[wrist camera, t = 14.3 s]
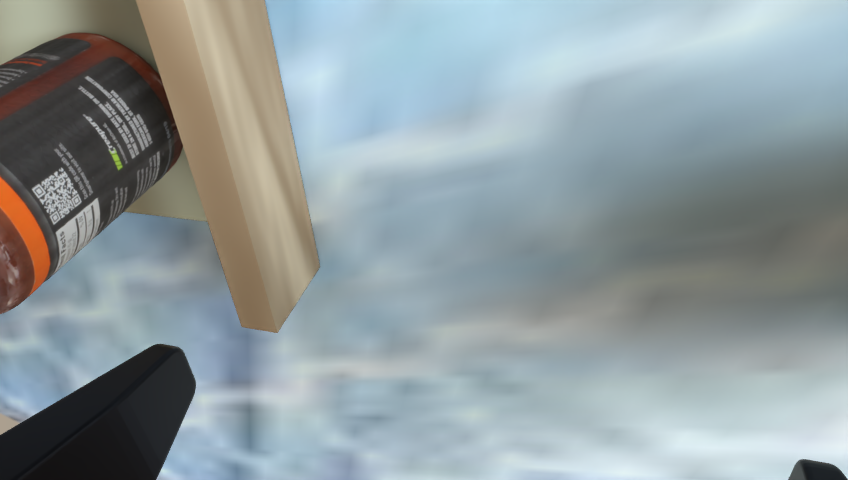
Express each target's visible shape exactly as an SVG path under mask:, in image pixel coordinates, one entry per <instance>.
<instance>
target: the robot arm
mask: <svg viewBox="0 0 848 480" xmlns="http://www.w3.org/2000/svg"><path fill="white" fill-rule="evenodd" d="M195 389H196V381H195V378H194V375H193V373H192V371H191V368H190V366H189V363H188V361H187V358H186V356H185V353H184V352H183V350H182V349H181V348H179V347H176V346H170V345H165V344H156V345H153V346H151V347H149V348H148V349H146V350H144V351H142V352H141V353H139V354H137V355H136V356H134V357H132V358H131V359H129V360H127V361H125V362H124V363H122V364H120V365H119V366H117V367H115V368H114V369H112V370H110V371H108V372H107V373H105V374H103V375H102V376H100V377H98V378H97V379H95V380H93V381H91V382H90V383H88V384H86V385H85V386H83V387H81V388H80V389H78V390H76V391H74V392H73V393H71V394H69V395H68V396H66V397H64V398H63V399H61V400H59V401H57V402H56V403H54V404H52V405H51V406H49V407H47V408H46V409H44V410H42V411H40V412H39V413H37V414H35V415H34V416H32V417H30V418H29V419H27V420H25V421H23V422H22V423H20V424H18V425H17V426H15V427H13V428H12V429H10V430H8V431H7V432H5V433H3V434H1V435H0V480H156V479H157V477H158V475H159V473H160V471H161V469H162V466H163V464H164V462H165V460H166V457H167V455H168V453H169V451H170V448H171V446H172V444H173V442H174V439H175V437H176V435H177V433H178V430H179V428H180V426H181V424H182V421H183V419H184V417H185V415H186V412H187V410H188V408H189V405H190V403H191V401H192V399H193V396H194V393H195ZM788 480H848V479H847V478H846V477H845V475H844V474H843V473H842V471H841V470H840V469H839V468H837V467H836V466H834V465H832V464H829V463H824V462H818V461H812V460H807V459H801V460H799V461H798V462H797V463H796V464H795V466H794V468H793V471H792V473H791V475H790V477H789V479H788Z"/></svg>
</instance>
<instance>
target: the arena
mask: <svg viewBox="0 0 848 480" xmlns="http://www.w3.org/2000/svg"><path fill="white" fill-rule="evenodd" d="M70 33H92V34H99V35H102V36H105V37H108V38H110V39H112V40H115V41H117V42H119V43H121V44H122V45H124V46H126V47H127V48H129V49H131V50H132V51H134V52H135V53H136V54H138V55H139V56H140V57H142V58H143V59H144V60H145V61H146V62H147V63H148V64H150V65H151V66H152V68H153V69H154V70H155V71H156V72H157V73H158V74H159V75H160V76H161V79H162V83H163V86H164V89H165V92H166V95H167V98H168V101H169V104H170V107H171V110H172V113H173V116H174V120H175V123H176V126H177V129H178V132H179V135H180V138H181V141H182V144H183V148H182V151H181V154H180V157H179V158H178V160H177V162H176V163H175V165H174V166H173V167H172V168H171V169H170V170H169V171H168V172H167V173H166V174H165V175H164V176H163V177H162V178H161V179H160V180H159V181H158V182H156V184H155V185H153V186H152V187H150V188H149V189H148V190H147V191H146V192H145V193H144V194H143V195H142V196H141V197H140V198H139V199H137V200H136V201H135V202H134V203H133V204H132V205H131V206H130V207H128V208H127V209H126V210H125V211H124V212H131V213H139V214H148V215H156V216H164V217H173V218H181V219H189V220H198V221H206V222H208V224H209V227H210V231H211V234H212V237H213V240H214V243H215V246H216V249H217V252H218V255H219V258H220V261H221V265H222V268H223V271H224V274H225V277H226V280H227V283H228V286H229V289H230V292H231V295H232V298H233V302H234V305H235V308H236V311H237V314H238V317H239V320H240V323H241V326H242V327H245V328H251V329H257V330H263V331H268V332H274V333H278V331H279V330H280V328H281V327H282V325H283V324H284V322H285V320H286V319H287V317H288V316H289V314H290V313H291V311H292V310H293V308H294V306H295V305H296V303H297V302H298V300H299V299H300V297H301V296H302V294H303V293H304V291H305V289H306V288H307V286H308V285H309V283H310V282H311V280H312V279H313V277H314V276H315V274H316V272H317V271H318V269H319V268H320V264H319V259H318V254H317V249H316V244H315V240H314V235H313V230H312V225H311V220H310V216H309V211H308V206H307V201H306V197H305V192H304V187H303V182H302V177H301V173H300V168H299V163H298V158H297V153H296V149H295V144H294V139H293V134H292V129H291V125H290V120H289V115H288V110H287V105H286V101H285V96H284V91H283V86H282V81H281V77H280V72H279V67H278V62H277V57H276V53H275V48H274V43H273V38H272V34H271V29H270V24H269V19H268V14H267V10H266V5H265V0H0V65H1V64H4V63H6V62H8V61H10V60H12V59H13V58H15V57H17V56H19V55H21V54H23V53H25V52H27V51H29V50H31V49H33V48H35V47H37V46H39V45H41V44H43V43H45V42H48V41H50V40H53V39H56V38H58V37H60V36H62V35H65V34H70Z"/></svg>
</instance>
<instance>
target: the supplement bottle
mask: <svg viewBox="0 0 848 480" xmlns="http://www.w3.org/2000/svg"><path fill="white" fill-rule="evenodd" d="M182 148H183V144H182V141H181V138H180V135H179V132H178V129H177V126H176V123H175V120H174V116H173V113H172V110H171V107H170V104H169V101H168V98H167V95H166V92H165V89H164V86H163V83H162V79H161V76H160V75H159V74H158V73H157V72H156V71H155V70H154V69H153V68H152V66H151V65H150V64H148V63H147V62H146V61H145V60H144V59H143V58H142V57H140V56H139V55H138V54H136V53H135V52H134V51H132V50H131V49H129V48H127V47H126V46H124V45H122V44H121V43H119V42H117V41H115V40H112V39H110V38H108V37H105V36H102V35H99V34H92V33H70V34H65V35H62V36H60V37H58V38H56V39H53V40H50V41H48V42H45V43H43V44H41V45H39V46H37V47H35V48H33V49H31V50H29V51H27V52H25V53H23V54H21V55H19V56H17V57H15V58H13V59H12V60H10V61H8V62H6V63H4V64H1V65H0V314H2V313H5V312H7V311H9V310H11V309H13V308H14V307H16V306H18V305H19V304H20V303H21V302H23V301H24V300H25V299H26V298H27V297H28V296H30V295H31V294H32V293H33V292H34V291H35V290H36V289H37V288H38V287H39V286H40V285H41V284H42V283H43V282H45V281H46V280H48V279H49V278H50V277H51V276H52V275H53V274H54V273H56V272H57V271H58V270H59V269H60V268H61V267H62V266H63V265H64V264H66V263H67V262H68V261H69V260H70V259H71V258H72V257H73V256H75V255H76V254H77V253H78V252H79V251H80V250H81V249H82V248H83V247H85V246H86V245H87V244H88V243H89V242H90V241H91V240H92V239H93V238H94V237H96V236H97V235H98V234H99V233H100V232H101V231H102V230H104V229H105V228H106V227H107V226H108V225H109V224H110V223H111V222H112V221H114V220H115V219H116V218H117V217H118V216H119V215H120V214H121V213H123V212H124V211H125V210H126V209H127V208H128V207H130V206H131V205H132V204H133V203H134V202H135V201H136V200H137V199H139V198H140V197H141V196H142V195H143V194H144V193H145V192H146V191H147V190H148V189H149V188H150V187H152V186H153V185H155V184H156V182H158V181H159V180H160V179H161V178H162V177H163V176H164V175H165V174H166V173H167V172H168V171H169V170H170V169H171V168H172V167H173V166H174V165H175V163H176V162H177V160H178V158H179V157H180V154H181V151H182Z"/></svg>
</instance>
